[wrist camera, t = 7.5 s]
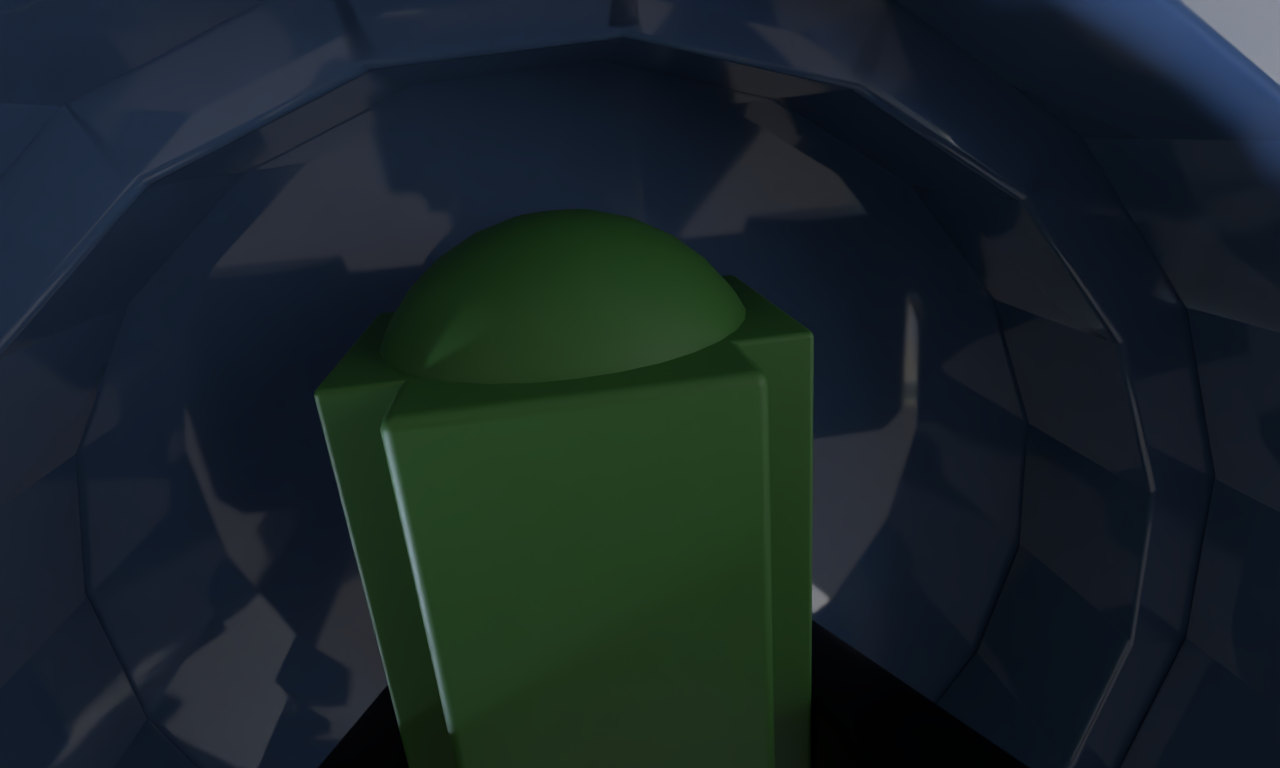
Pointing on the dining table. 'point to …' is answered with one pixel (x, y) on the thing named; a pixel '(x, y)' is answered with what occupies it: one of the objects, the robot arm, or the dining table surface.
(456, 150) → the bowl
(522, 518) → the green domed grooved pillar
